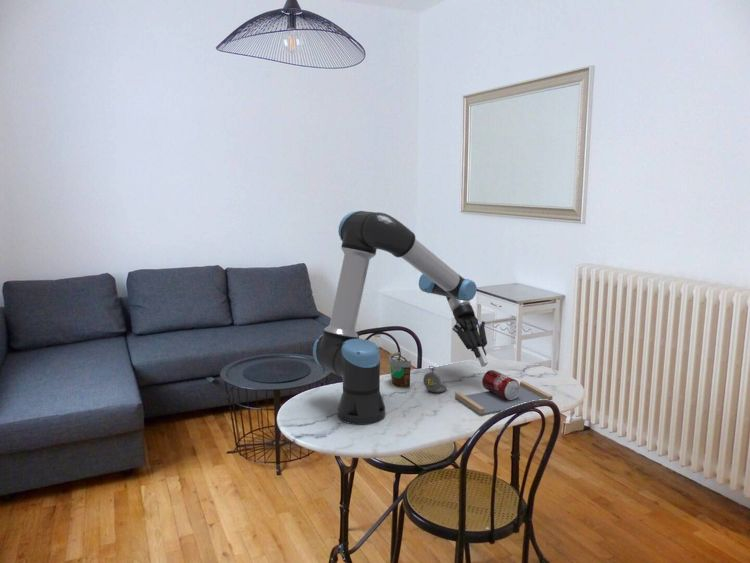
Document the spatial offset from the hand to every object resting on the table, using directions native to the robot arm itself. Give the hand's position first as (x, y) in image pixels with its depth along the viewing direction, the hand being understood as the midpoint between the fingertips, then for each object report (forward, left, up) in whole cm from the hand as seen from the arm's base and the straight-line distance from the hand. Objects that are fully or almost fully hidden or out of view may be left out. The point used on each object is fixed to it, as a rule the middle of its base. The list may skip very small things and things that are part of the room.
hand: (484, 364), depth 200 cm
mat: (0, -11, -9) cm, 14 cm away
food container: (-26, +17, -9) cm, 33 cm away
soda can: (+1, -2, -5) cm, 5 cm away
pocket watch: (-17, +5, -9) cm, 20 cm away
